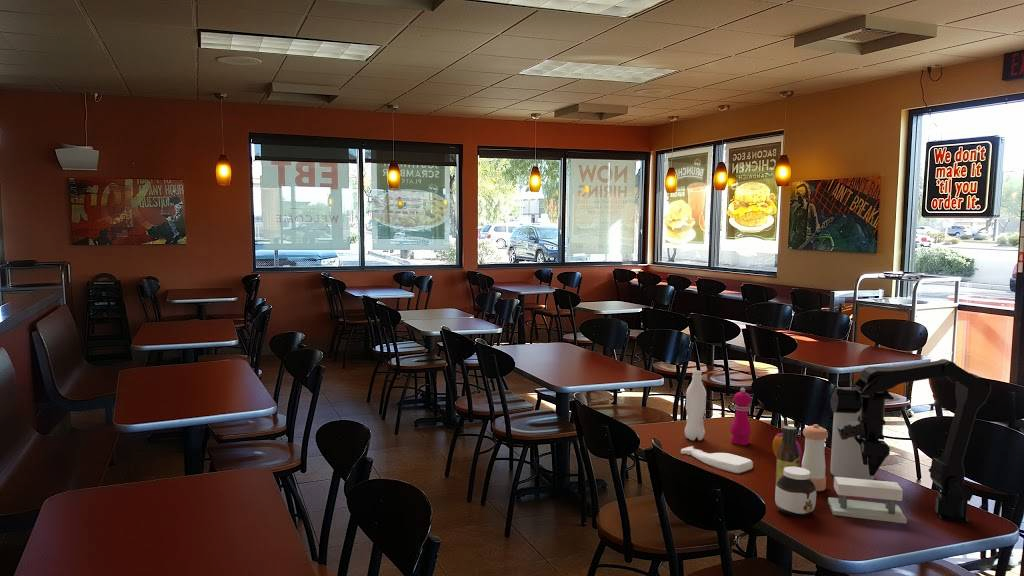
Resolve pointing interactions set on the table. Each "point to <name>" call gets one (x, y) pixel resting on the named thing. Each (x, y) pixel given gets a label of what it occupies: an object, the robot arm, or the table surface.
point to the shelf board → (868, 488)
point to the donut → (777, 443)
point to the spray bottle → (721, 460)
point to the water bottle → (695, 407)
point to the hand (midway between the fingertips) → (868, 470)
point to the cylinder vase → (847, 452)
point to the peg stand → (867, 509)
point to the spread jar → (795, 492)
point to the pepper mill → (741, 419)
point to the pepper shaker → (815, 455)
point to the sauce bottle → (787, 451)
